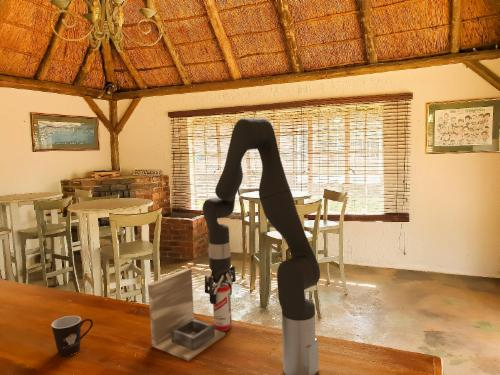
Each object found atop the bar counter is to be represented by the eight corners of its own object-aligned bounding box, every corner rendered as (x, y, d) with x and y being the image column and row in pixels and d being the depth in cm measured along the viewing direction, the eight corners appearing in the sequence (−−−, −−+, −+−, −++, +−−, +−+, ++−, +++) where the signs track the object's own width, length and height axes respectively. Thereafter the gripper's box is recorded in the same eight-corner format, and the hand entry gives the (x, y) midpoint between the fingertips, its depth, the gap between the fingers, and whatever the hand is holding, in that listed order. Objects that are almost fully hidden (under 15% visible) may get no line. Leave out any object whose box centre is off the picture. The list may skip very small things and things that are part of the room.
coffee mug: (51, 360, 121) (48, 330, 120) (57, 346, 130) (54, 318, 128) (91, 354, 124) (89, 324, 123) (94, 340, 133) (92, 312, 131)
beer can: (229, 332, 135) (227, 288, 133) (211, 331, 136) (209, 287, 134) (233, 324, 141) (232, 281, 139) (217, 323, 143) (215, 280, 141)
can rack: (152, 346, 128) (147, 284, 125) (190, 324, 142) (187, 268, 140) (188, 360, 119) (184, 294, 116) (224, 335, 133) (222, 275, 131)
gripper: (214, 262, 128) (216, 309, 130) (240, 251, 139) (241, 294, 141) (197, 258, 132) (199, 304, 134) (224, 248, 143) (225, 290, 146)
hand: (221, 299), depth 138 cm, fingers open, 8 cm apart
